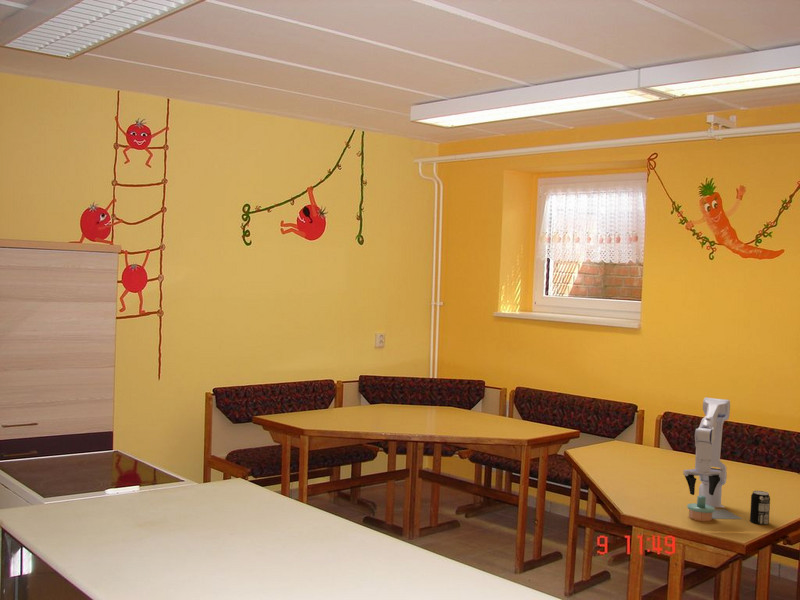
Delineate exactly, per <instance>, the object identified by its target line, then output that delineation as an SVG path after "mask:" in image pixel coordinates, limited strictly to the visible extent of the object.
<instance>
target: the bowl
mask: <svg viewBox="0 0 800 600" xmlns="http://www.w3.org/2000/svg"><path fill="white" fill-rule="evenodd" d="M688 517H689V518H690V519H692V520H695V521H700V522H710V521H712V520H713V519H712V513H702V512H696V511H692V510H690V509H688Z"/></svg>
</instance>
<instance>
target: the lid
mask: <svg viewBox="0 0 800 600" xmlns="http://www.w3.org/2000/svg"><path fill="white" fill-rule="evenodd" d="M696 498H697V500H696V503H693V502H692V503H688V504H686V508H687V509H688V510H689V509H690V510H692V511H696V512H702V513H712V512H715V509H716V507H712V506H709V505H705V502H706V497H705V496H699V495H697V497H696Z"/></svg>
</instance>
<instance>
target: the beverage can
mask: <svg viewBox="0 0 800 600" xmlns="http://www.w3.org/2000/svg"><path fill="white" fill-rule="evenodd" d="M770 504H771V496H770V493H769V492H768V491H763V490H753V491H752V493H751V495H750V514H749V515H750V516H749V522H750V523H752V524H755V525H760V526H766V525H769V523H770V509H771V505H770Z"/></svg>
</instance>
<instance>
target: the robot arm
mask: <svg viewBox="0 0 800 600" xmlns="http://www.w3.org/2000/svg"><path fill="white" fill-rule="evenodd" d="M702 411H703V413H704V415H705V416H704V417H703V418H702V419H701V421H700V424H699V426H698V427H697V428H695V431H694V442H695V443H694V447H695V463H694V468H692V469H691V468H690V469H683V472H682V473H683V474H682V475H683V476H684V479H685V480H686V483H687V485H688V489H689V494H690V495H691V496H694V495H695V491H696V490H695V489H696V488H695V487H696V483H697V478H696V477H695V476H698V479H699V481H700V482H701V483H700V484H699V487H698V496H705V497H706V502H705V505H709V506H712V507H714V508H725V505H723V504H722V494H723V493H722V492H723V486H724V485H726V483H727V476H728V474H727V466H726V464H725V463H723V462H722V461H721V454H722V453H721V451H722V450H721V449H722V438H723V426H724V423H725V421H728V420H729V419H730V413H731V412H730V411H731V401H730V400H729V399H723V398H714V397H707V396H705V397H704V398H703V401H702Z"/></svg>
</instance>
